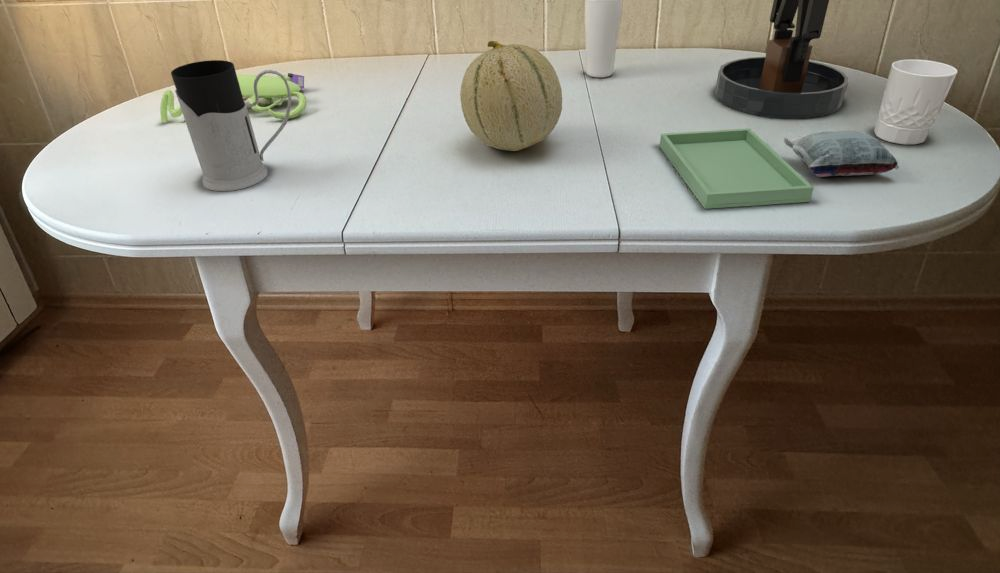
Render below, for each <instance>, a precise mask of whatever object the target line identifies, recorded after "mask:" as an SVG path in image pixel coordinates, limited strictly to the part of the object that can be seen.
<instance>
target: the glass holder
mask: <svg viewBox="0 0 1000 573" xmlns="http://www.w3.org/2000/svg"><path fill="white" fill-rule="evenodd" d="M236 74H237V70H236V68H235V64H234V63H233V62H232V61H229V60H221V59H220V60H218V59H217V60H216V59H213V60H212V59H211V60H202V61H196V62H195V61H194V62H190V63H186V64H183V65H180V66H177V67H175V68H174V69H172V70H171V72H170V75H171V78H172V81H173V85H174V87H175V91H174V92H175V94H176V98H177V101H178V104H179V106H180V107H181V110H182V113H183V114H182V116H183V118H184V121H185V124H186V128H187V130H188V133H189V136H190V139H191V142H192V145H193V148H194V151H195V154H196V157H197V160H198V163H199V166H200V169H201V172H202V182H201V183H202V186H203V187H204V188H205V189H207V190H210V191H214V192H232V191H233V192H234V191H238V190H242V189H246V188H250V187H253V186H254V185H256V184H258V183H261V182H262V181H263V180H264V179H266V177H267V176H268V175H269V171H268V168H267V167H266V166H265V165H264V163H263V162H264V153H265V152H266V151H267V149H268V147H269V146H271V144H272V143H273V142H274V141H275V140H276V138H277V137H278V136H279V135H280V133H281V132H282V131H283V129H284V128H285V126H286V125H287V124H288V121H289V119H288V118H289V114H290V112H291V108H292V96H291V95H290V89H289V86H288V83H287V80H286V79H285V77H284V76H283V75H284V74H282V73H280V72H278V71H277V70H273V69H265V70H263V71H260V72H259V73H258V74H256V75H257V76H256V78H255V80H254V92H255V97H256V101H255V102H254V103H252V104H250V103H248V104H247V102H246V101H244V100H243V97H242V93H241V89H240V86H239V82H238V78H237V75H236ZM266 74H271V75H272V74H273V75H276V76H280V77H281V78H282V79H283V80H284V82H285V85H286V87H287V94H288V98H287V108H286V112H285V113H286V115H285V118H284V119H283V120H282V123H280V124H281V125H280V126H279V127H278V129H277V130H276V131H275V133H274V134H273V135H272V136H271V137H270V138H269V139H268V141H267V142H266V143H265V144H264V145H263V147H262V148H261V149H260V150H259V146H258V143H257V140H256V136H255V132H254V129H253V125H252V121H251V118H250V115H249V110H248V108H252V107H254V106H255V105H257V104H258V103H259V101H260V100H259V99H260V98H259V97H258V92H257V83H258V81H259V79H260V77H261V76H265V75H266Z"/></svg>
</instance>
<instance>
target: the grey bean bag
mask: <svg viewBox="0 0 1000 573" xmlns="http://www.w3.org/2000/svg"><path fill="white" fill-rule="evenodd" d="M783 142H784V144H785V145H786V146H787V147H789V148H791V149H792V151H793V152H794V153H795V154H796V156H798V157H799V158H800V159H801V160H802V161H803V162H804V163H805V164H806V165H807V166H808V167H807V170H808V169H809V171H810V172H812V173H813V174H814V175H815V176H817V177H819V178H820V177H821V178H822V177H823V178H825V177H838V176H841V177H849V176H867V175H874V174H881V173H888V172H890V171H892V170H898V169H900V165H899V162H898V161H897V159H896V158H895V156H894V155H893V154H892V153H891V152H890V151H889V150H888V148H886V147H885V145H883V144H882V142H881V141H880V140H878V139H876V138H875V137H873V135H870V134H868V133H865V132H860V131H857V130H839V131H837V130H836V131H820V132H815V133H814V132H813V133H810V134H806V135H803V136H798V137H796V138H793V139H788V138H786V137H784V139H783Z"/></svg>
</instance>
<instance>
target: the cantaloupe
mask: <svg viewBox="0 0 1000 573" xmlns="http://www.w3.org/2000/svg"><path fill="white" fill-rule="evenodd" d="M487 47H488V48H491V49H489V50H487V51H484V52H483V53H481V54H480V55H478V56H477V57H476V58H474V59H473V60H472V61H471V63H470V64H469V66H468V67H467V68H466V70H465V73H464V74H463V77H462V81H461V84H460V92H459V93H460V94H459V96H460V97H459V98H460V105H461V111H462V113H463V114H462V115H463V117H464V120H465V122H466V125H467V126H468V128H469V130H470V132H471V133H472V134H473V135H474V136H475V138H477V139H478V140H479V141H481V142H482V143H483V144H484V145H487V146H489V147H491V148H493V149H497V150H500V151H501V150H502V151H509V152H517V151H522V150H524V149H527V148H530V147H531V146H533V145H536V144H537V143H539V142H542V141H543V140H545V139H546V138H547V137H549V135H550V134H551V133H552V132H553V131H554V130H555V128H556V125H557V124H558V122H559V120H560V117H561V114H562V111H563V92H562V91H563V90H562V86H561V82H560V79H559V76H558V74H557V72H556V70H555V68H554V66H553V65H552V64H551V62H550V61H549V59H548V58H547V57H546V56H545V55H543V53H541V52H540V51H539V50H538V49H536V48H534V47H531V46H528V45H525V44H515V43H511V44H501V43H499V42H498V41H496V40H489V41H488V42H487Z"/></svg>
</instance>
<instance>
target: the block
mask: <svg viewBox="0 0 1000 573" xmlns="http://www.w3.org/2000/svg"><path fill="white" fill-rule="evenodd" d="M790 42H791V40H790V39H775V40H773V39H768V41H767V46H766V52H765V56H764V57H765V62H764V66H763V71H762V76H761V81H760V86H759V88H760V89H762V90H767V91H776V92H787V93H801V91H802V87H803V83H804V79H805V75H806V71H807V67H808V63H809V61H810V59H811V55H812V50H813V45H812V44H811V43H809V46H808V50H807V55H806V59H805V62H804V66H803V70H802V74H801V79H800V81H789V82H783V81H782V78H783V73H784V69H785V65H786V60H787V56H788V51H789V46H790Z"/></svg>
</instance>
